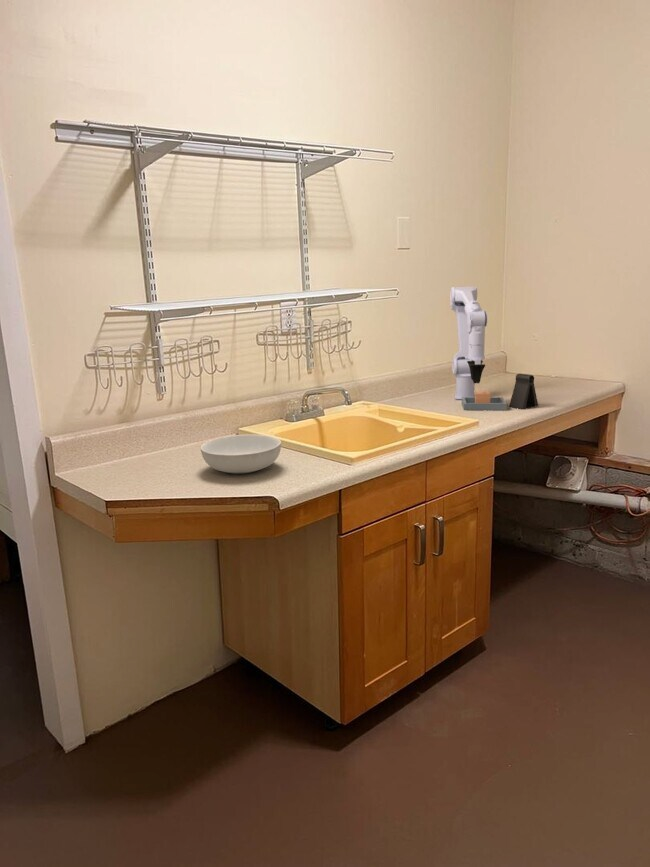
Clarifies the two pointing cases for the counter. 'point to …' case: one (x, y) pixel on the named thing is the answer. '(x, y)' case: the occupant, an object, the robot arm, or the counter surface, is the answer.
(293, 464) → the counter surface
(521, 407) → the phone stand
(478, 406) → the slate tray
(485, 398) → the orange block
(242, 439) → the serving bowl
